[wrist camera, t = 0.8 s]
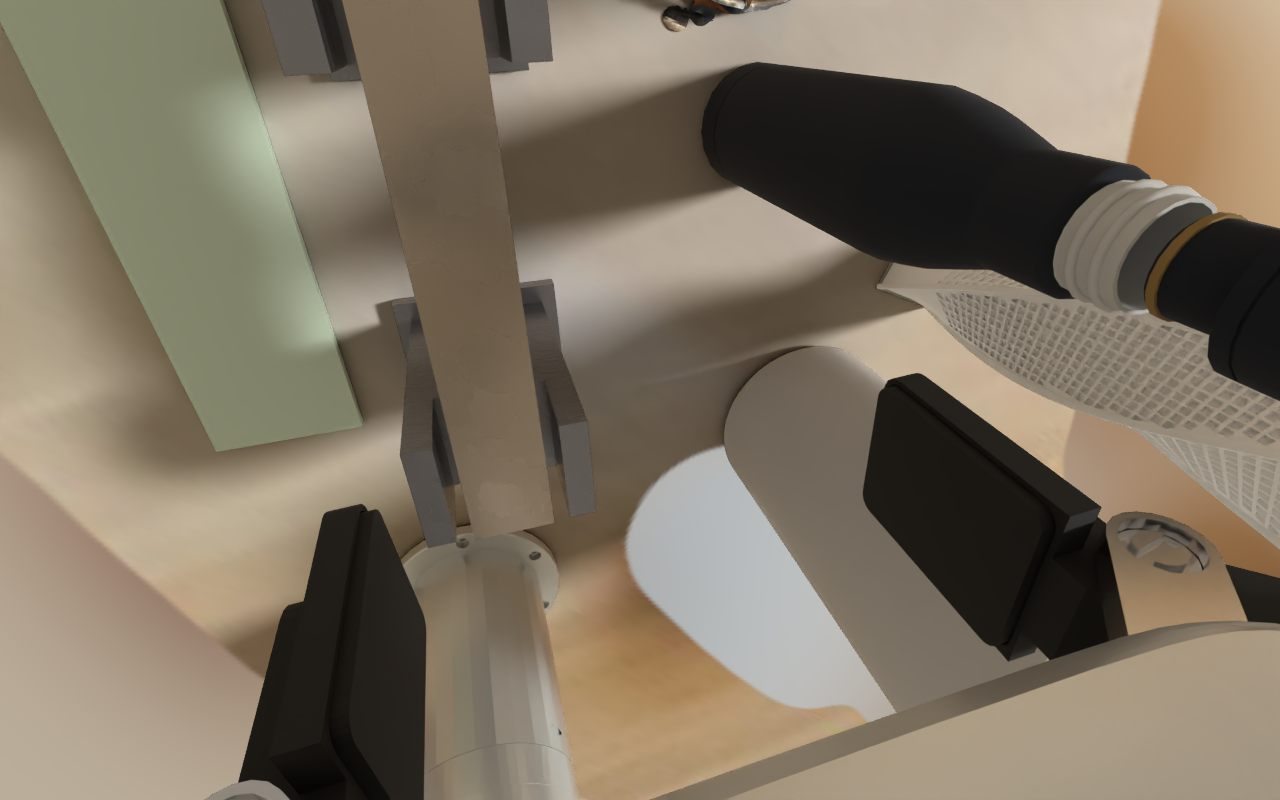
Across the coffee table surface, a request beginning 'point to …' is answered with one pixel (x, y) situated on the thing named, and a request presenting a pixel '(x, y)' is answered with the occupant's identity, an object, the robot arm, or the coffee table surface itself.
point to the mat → (191, 206)
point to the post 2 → (427, 430)
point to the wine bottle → (997, 203)
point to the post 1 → (321, 44)
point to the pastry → (711, 11)
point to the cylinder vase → (850, 525)
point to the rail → (457, 244)
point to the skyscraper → (1116, 377)
